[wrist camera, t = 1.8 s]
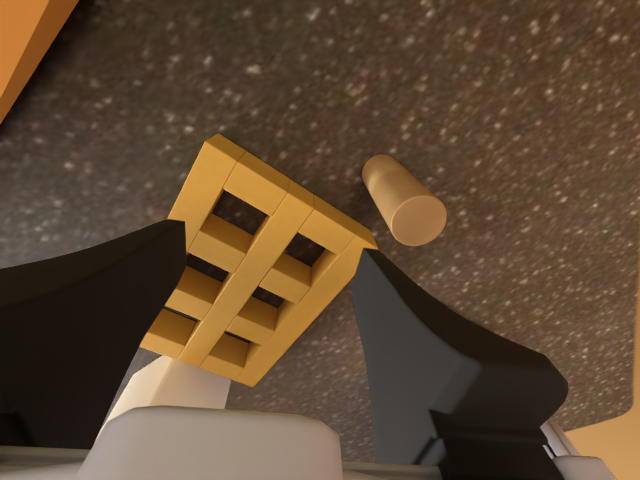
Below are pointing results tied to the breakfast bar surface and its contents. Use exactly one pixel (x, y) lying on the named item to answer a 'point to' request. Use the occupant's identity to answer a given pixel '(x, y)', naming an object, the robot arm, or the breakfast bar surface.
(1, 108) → the carrot
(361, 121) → the breakfast bar surface
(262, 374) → the peg block
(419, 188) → the peg
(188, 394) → the medicine bottle
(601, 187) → the breakfast bar surface
